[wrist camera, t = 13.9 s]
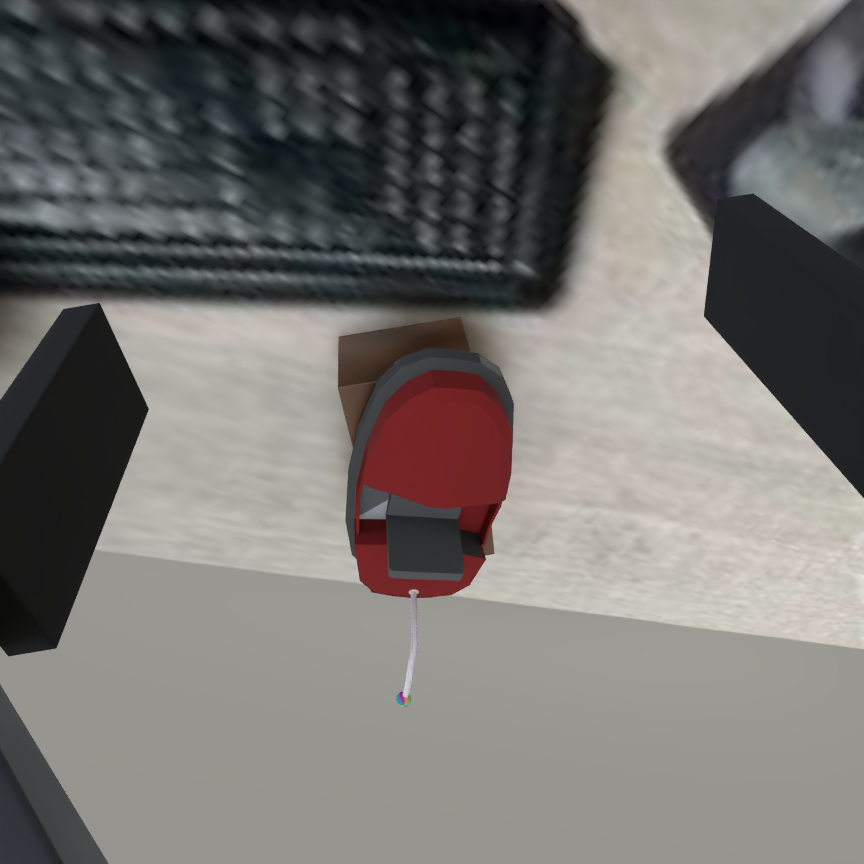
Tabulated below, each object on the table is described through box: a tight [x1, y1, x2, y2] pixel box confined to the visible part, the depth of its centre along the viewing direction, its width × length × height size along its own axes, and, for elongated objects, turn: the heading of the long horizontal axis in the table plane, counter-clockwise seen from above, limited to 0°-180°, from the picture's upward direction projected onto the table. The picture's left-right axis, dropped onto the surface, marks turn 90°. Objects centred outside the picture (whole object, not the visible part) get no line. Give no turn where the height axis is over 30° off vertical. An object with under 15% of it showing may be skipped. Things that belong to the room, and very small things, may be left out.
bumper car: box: [346, 348, 514, 707], centre depth 42 cm, size 10×20×10 cm, turn 170°
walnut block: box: [338, 318, 494, 555], centre depth 48 cm, size 8×16×6 cm, turn 7°
